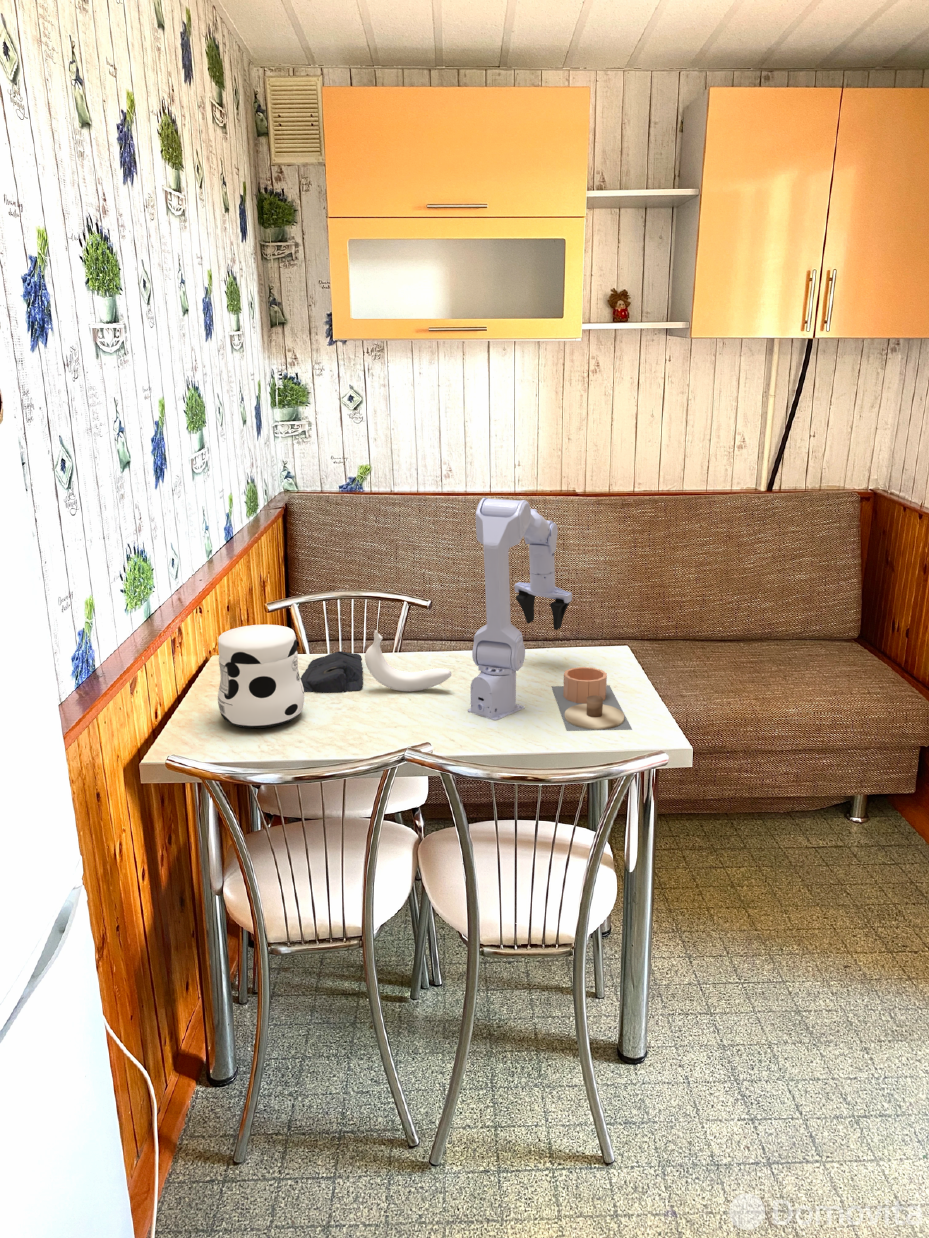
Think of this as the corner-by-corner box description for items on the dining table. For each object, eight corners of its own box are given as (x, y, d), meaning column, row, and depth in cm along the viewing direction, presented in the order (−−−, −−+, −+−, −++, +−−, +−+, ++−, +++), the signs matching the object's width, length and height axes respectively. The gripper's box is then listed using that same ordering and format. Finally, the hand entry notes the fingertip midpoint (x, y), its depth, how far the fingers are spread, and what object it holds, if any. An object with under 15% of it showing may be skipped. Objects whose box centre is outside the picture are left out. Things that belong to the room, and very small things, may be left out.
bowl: (589, 706, 195) (590, 684, 193) (555, 696, 201) (555, 674, 199) (614, 695, 201) (614, 673, 200) (580, 685, 207) (580, 664, 206)
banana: (451, 694, 203) (450, 631, 199) (365, 695, 203) (362, 631, 199) (452, 687, 208) (451, 624, 204) (367, 687, 208) (364, 625, 204)
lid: (601, 734, 181) (602, 714, 180) (552, 718, 189) (553, 699, 188) (635, 717, 189) (636, 697, 188) (587, 702, 197) (588, 683, 196)
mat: (632, 731, 183) (632, 729, 183) (566, 732, 183) (566, 730, 183) (609, 686, 207) (609, 685, 207) (551, 687, 207) (551, 686, 207)
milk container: (320, 708, 196) (316, 627, 191) (277, 740, 181) (271, 652, 176) (249, 699, 202) (243, 619, 197) (202, 728, 186) (194, 643, 181)
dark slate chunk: (371, 662, 226) (370, 644, 225) (361, 695, 205) (360, 674, 204) (308, 663, 226) (307, 644, 225) (292, 695, 205) (291, 675, 204)
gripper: (578, 570, 211) (579, 625, 216) (525, 560, 219) (527, 613, 225) (562, 580, 206) (563, 636, 211) (508, 569, 214) (510, 623, 220)
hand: (543, 625), depth 218 cm, fingers open, 7 cm apart
